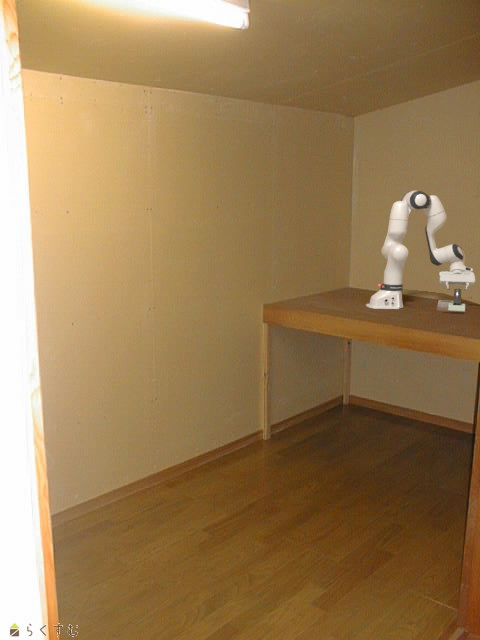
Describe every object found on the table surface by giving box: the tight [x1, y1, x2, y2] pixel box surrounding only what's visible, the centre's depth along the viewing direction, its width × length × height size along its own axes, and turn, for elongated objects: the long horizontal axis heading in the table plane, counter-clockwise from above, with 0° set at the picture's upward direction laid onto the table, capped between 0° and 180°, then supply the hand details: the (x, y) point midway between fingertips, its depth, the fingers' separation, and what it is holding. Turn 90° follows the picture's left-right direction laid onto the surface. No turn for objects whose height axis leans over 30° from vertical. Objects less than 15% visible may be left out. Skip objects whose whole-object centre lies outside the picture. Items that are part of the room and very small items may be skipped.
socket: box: [437, 299, 453, 307], centre depth 358 cm, size 9×9×3 cm
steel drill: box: [452, 288, 462, 305], centre depth 346 cm, size 4×4×12 cm
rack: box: [448, 303, 466, 312], centre depth 347 cm, size 9×9×3 cm
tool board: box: [436, 303, 467, 315], centre depth 353 cm, size 22×16×2 cm
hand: (457, 289), depth 352 cm, fingers open, 8 cm apart
